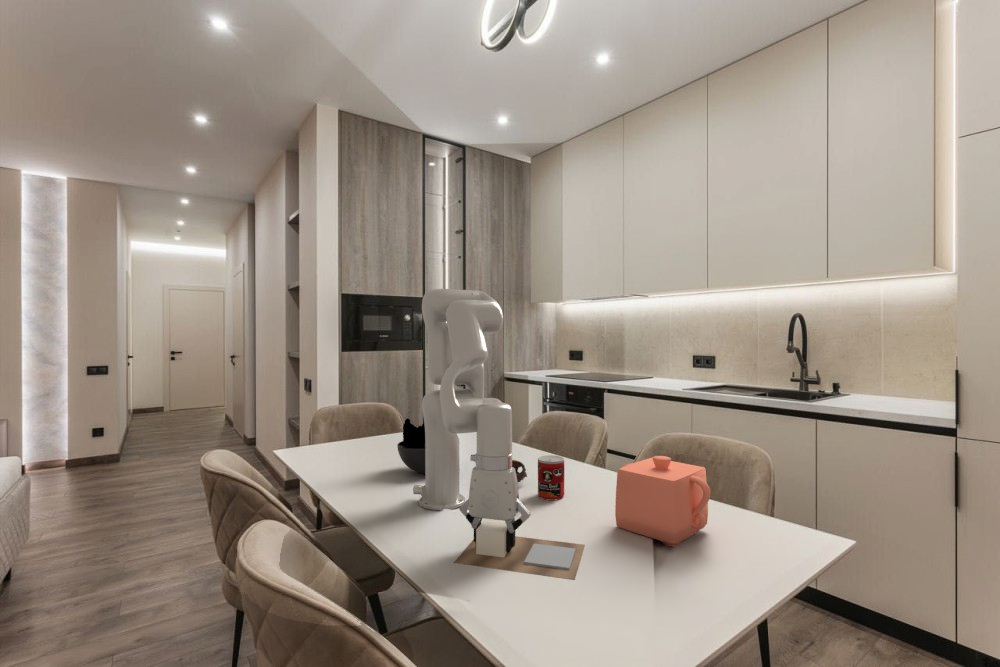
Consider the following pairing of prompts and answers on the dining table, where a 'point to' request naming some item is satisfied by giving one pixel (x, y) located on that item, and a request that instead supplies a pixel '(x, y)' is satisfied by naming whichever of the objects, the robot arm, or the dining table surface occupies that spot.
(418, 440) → the coal bowl
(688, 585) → the dining table surface
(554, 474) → the canned food
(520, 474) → the pottery mug
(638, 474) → the teapot
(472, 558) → the base board
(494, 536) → the cream cube
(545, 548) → the pad
